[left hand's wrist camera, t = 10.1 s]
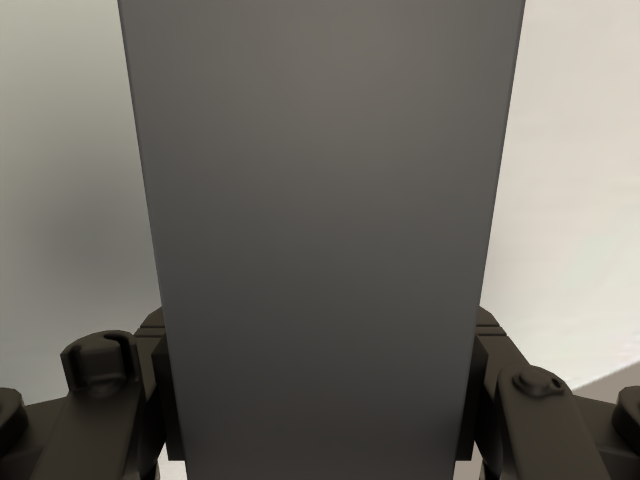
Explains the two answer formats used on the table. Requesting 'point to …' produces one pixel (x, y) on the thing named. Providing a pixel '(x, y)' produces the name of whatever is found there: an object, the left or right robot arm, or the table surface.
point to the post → (320, 223)
